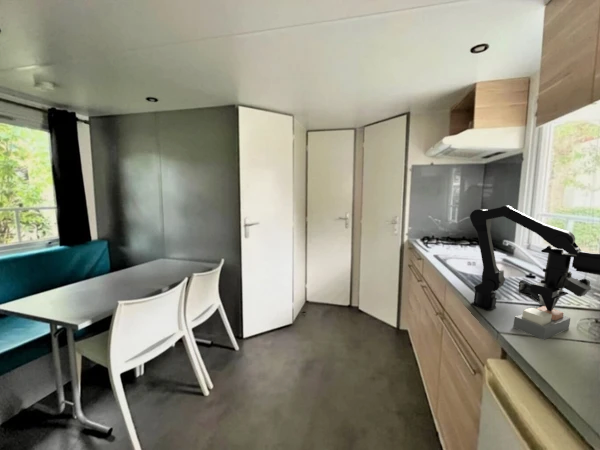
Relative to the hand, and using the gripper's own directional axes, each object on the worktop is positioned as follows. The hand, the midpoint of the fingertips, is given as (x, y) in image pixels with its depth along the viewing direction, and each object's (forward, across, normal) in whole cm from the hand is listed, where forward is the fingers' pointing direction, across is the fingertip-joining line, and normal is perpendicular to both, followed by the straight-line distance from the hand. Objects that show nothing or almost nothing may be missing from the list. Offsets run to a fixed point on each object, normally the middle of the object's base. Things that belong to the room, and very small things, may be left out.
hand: (549, 310), depth 98 cm
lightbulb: (+6, +19, +9) cm, 22 cm away
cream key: (+3, -9, 0) cm, 9 cm away
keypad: (+6, -4, 0) cm, 7 cm away
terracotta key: (+4, 0, 0) cm, 4 cm away
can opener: (+6, +28, +16) cm, 32 cm away
